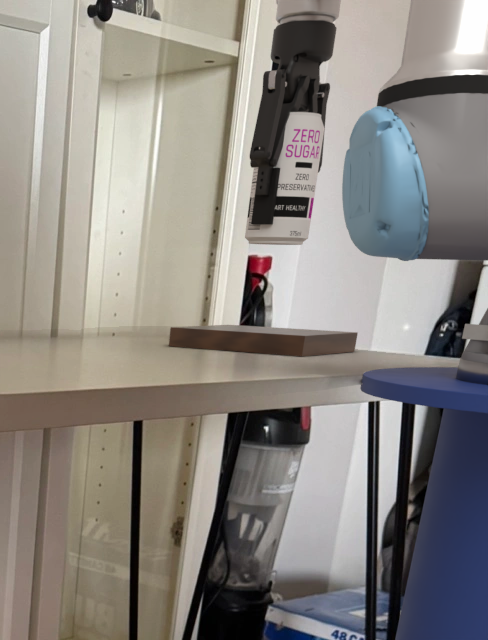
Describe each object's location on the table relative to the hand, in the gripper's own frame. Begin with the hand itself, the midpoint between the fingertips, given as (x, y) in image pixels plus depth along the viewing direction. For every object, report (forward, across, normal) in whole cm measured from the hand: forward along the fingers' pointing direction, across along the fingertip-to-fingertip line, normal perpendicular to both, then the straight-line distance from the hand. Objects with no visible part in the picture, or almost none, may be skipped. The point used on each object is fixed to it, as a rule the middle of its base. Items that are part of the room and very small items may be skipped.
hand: (277, 225), depth 137 cm
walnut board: (+16, 0, 0) cm, 16 cm away
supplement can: (+2, 0, 0) cm, 2 cm away
